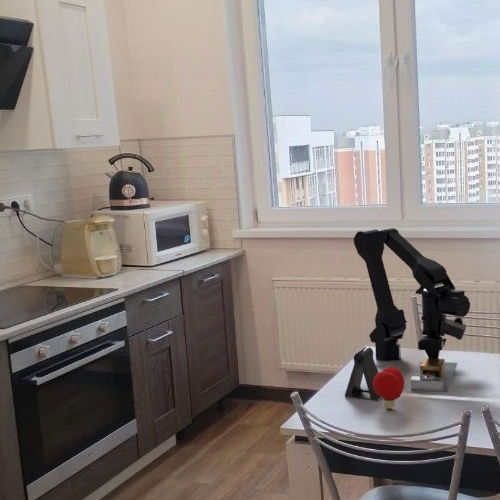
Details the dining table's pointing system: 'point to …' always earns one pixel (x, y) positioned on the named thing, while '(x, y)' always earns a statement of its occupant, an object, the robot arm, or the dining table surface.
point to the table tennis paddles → (389, 385)
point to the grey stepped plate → (432, 379)
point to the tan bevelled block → (433, 366)
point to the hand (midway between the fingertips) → (434, 366)
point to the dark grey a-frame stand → (366, 366)
